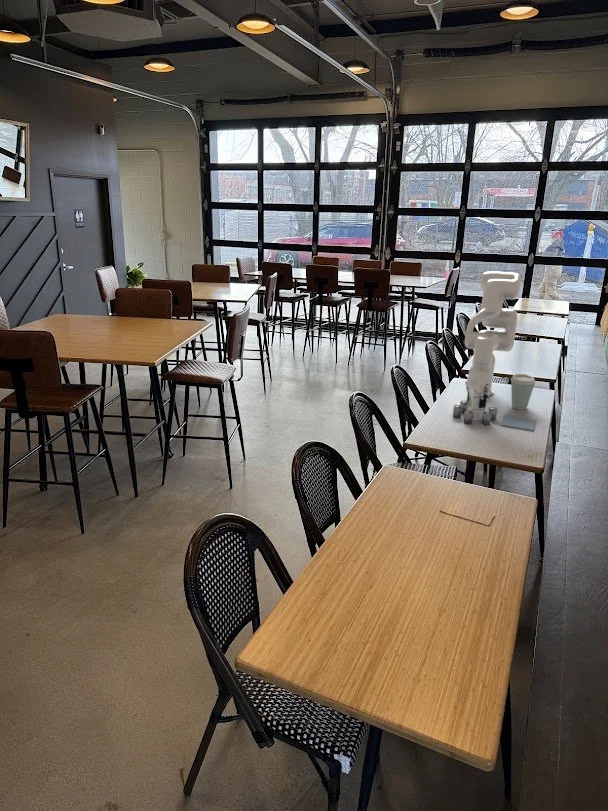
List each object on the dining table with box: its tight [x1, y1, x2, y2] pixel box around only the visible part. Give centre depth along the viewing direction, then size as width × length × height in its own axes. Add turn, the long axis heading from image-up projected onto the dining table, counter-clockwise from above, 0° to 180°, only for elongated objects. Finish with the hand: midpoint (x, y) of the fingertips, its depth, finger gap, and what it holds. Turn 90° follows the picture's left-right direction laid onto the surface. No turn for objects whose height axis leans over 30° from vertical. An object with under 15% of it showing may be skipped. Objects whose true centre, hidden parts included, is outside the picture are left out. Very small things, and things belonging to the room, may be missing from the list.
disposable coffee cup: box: [510, 373, 536, 410], centre depth 251 cm, size 11×11×15 cm
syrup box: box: [467, 388, 486, 421], centre depth 237 cm, size 6×6×14 cm
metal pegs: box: [452, 400, 499, 426], centre depth 239 cm, size 19×17×5 cm
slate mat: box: [500, 414, 537, 432], centre depth 234 cm, size 13×13×1 cm
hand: (476, 404), depth 237 cm, fingers closed on syrup box, 7 cm apart
